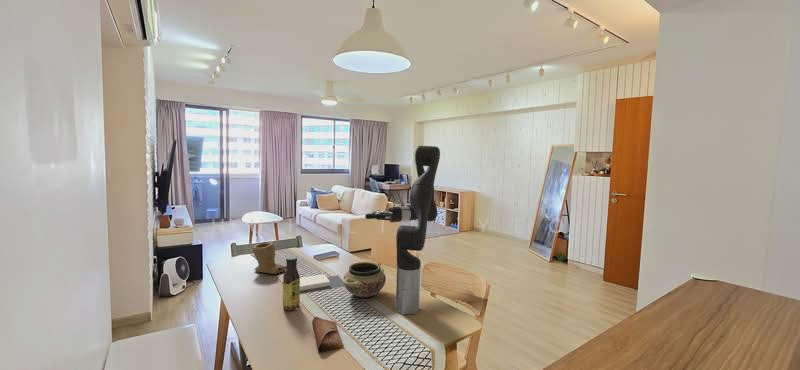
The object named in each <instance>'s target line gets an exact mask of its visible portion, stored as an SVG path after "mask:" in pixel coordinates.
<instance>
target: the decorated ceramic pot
mask: <svg viewBox="0 0 800 370" xmlns="http://www.w3.org/2000/svg"><path fill="white" fill-rule="evenodd" d="M384 272H385V269H384V268H383V267H382V266H380V264H378V263H375V262H370V261H369V262H368V261H365V262H364V261H362V262H361V261H359V262H356V263H352V264H351V265H350V266H349V268H348V271H347V272H346V273H345V274H344V275H343V279H342V280H343V284H344V285H345V286H344V287H345V289H346V290H347V291H348V292H349V293H350V294H352V295H353V298H354V299H356V300H358V301H370V300H372V299H374V298H376V295H377V294H379V292H381V290H382V289H383V288H384V286H385V285H386V280H387V279H386V274H385V273H384Z"/></svg>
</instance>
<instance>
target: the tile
mask: <svg viewBox="0 0 800 370" xmlns="http://www.w3.org/2000/svg"><path fill="white" fill-rule="evenodd" d="M327 277H328V276H327V275H325V274H316V275H315V274H314V275H311V276H303V277H300V291H305V290H311V289H317V288H323V287H329V286H330V281H329V279H328V278H327Z"/></svg>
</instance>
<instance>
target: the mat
mask: <svg viewBox="0 0 800 370" xmlns="http://www.w3.org/2000/svg"><path fill="white" fill-rule="evenodd" d="M326 277H327V278H328V279H329V281H330V286H329V287H323V288H317V289H311V290H305V291H300V295H301V294H307V293H313V292H319V291H324V290H331V289H335V288H336V289H337V288H342V287H345V285H344V284H343V279H342V278H341V276H339V275H330V276H326Z"/></svg>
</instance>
